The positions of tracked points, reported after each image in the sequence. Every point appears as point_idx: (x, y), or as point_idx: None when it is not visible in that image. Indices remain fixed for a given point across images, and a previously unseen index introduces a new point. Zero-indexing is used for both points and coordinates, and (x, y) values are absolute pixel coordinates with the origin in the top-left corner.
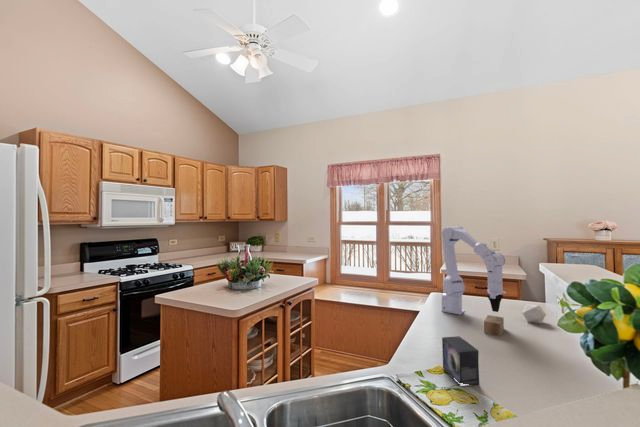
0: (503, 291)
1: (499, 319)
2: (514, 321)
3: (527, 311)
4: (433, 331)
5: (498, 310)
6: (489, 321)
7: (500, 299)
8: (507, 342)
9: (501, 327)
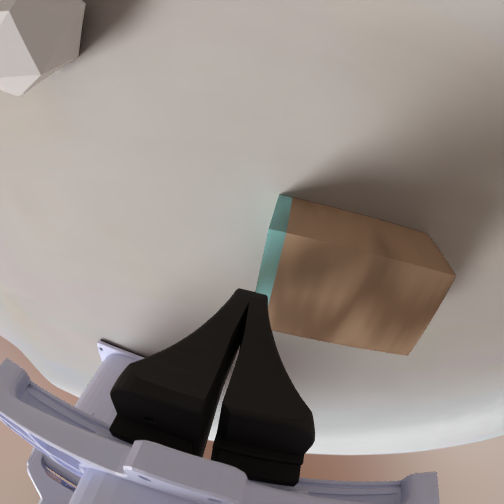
0: (160, 489)
1: (346, 268)
2: (98, 123)
3: (35, 55)
4: (404, 429)
5: (258, 299)
6: (411, 331)
7: (312, 415)
8: (499, 217)
9: (402, 243)
